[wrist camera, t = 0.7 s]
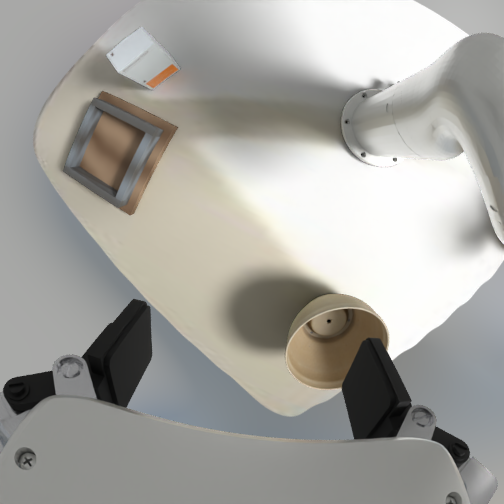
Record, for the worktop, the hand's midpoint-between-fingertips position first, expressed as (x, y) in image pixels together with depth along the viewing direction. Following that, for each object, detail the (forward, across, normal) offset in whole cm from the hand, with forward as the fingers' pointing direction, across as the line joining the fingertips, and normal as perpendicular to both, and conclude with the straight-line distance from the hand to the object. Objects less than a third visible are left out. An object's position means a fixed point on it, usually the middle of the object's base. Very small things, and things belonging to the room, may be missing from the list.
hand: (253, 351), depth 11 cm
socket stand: (+33, +26, -6) cm, 42 cm away
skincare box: (+33, +20, -20) cm, 44 cm away
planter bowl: (+33, -14, +17) cm, 40 cm away
